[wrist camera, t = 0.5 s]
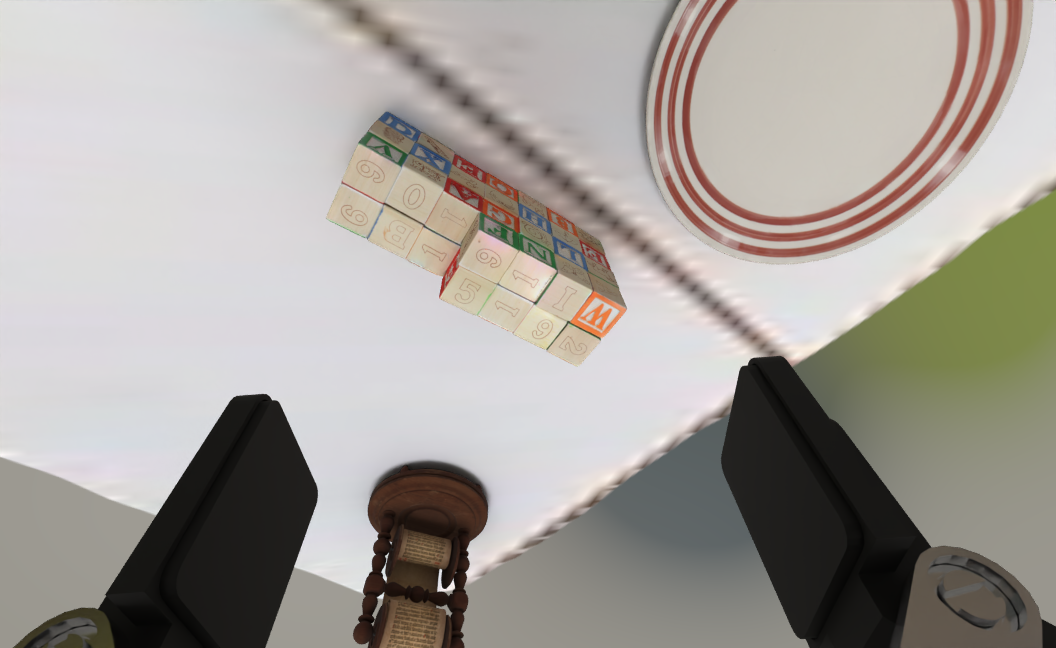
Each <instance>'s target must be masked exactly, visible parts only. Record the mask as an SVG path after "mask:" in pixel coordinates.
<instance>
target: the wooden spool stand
mask: <svg viewBox="0 0 1056 648" xmlns="http://www.w3.org/2000/svg"><path fill="white" fill-rule="evenodd" d="M368 517H369V520H370V523H371V524H372V526H373V528H374V529H375V530H376V531H377V532H378V533H379V534H378V540H377V541H376V542H375V543H374V546H373V551H374V553H375V554H376V555H375V556H374V557H373V559H372V570H373V571H372V572H370V573H369V576H368V577H367V579H366V581H365V585H364V589H363V593H364V595H365V596H366V597H365V598H364V599H363V603H362V608H363V615H361V616H360V617H359V618H358V620H359V622H360V623H359V624H358V625H357V626H356V627H355V629H354V633H353V637H354V640H355V641H356V642H357V643H358V644H366V643H367V642H369V644H368V648H464V643H463V641H462V640H461V638H463V636H464V635H463V633H462V632H460V631H461V628H462V625H463V622H464V615H463V613H464V612H465V611H466V609H467V605H468V596H467V595H466V591H465V590H464V589H463V588H464V586H465V583H466V580H467V575H466V573H465V572H466V571H467V570H468V568H469V565H470V563H469V560H468V558H467V556H468V554H469V553H468V551H466V550H467V548H468V545H469V543H470V541H471V540H473V539H474V538H476V537H477V536H478V535H479V534H480V533H481V532H482V530H483V529H484V527H485V525H486V522H487V518H488V504H487V500H486V498H485V496H484V494H483V493H482V488H481V486H480V485H475V484H473V483H472V482H471V481H469V480H467V479H466V478H464V477H462V476H459V475H457V474H454V473H451V472H447V471H442V470H435V469H416V470H409V469H408V466H404V467H403V468H402V469H401V471H400V473H398V474H395V475H393V476H390V477H389V478H387V479H385V480H384V481H382V482H381V483H380V484H379V485H378V486H377V487H376V488H375V490H374V491H373V493H372V495H371V497H370V501H369V505H368ZM390 542H392V544H390ZM388 553H389V555H388V559H387V563H386V557H385V555H387V554H388ZM385 564H386V570H385V574H386V576H387V582H386V581H385V580H384V579H383V574H382V573H381V571H382V569H383V568H384V566H385ZM439 569H442V577H441V584H442V588H443V589H446V588H447V587H448V586H449V585H450V584H451V582H452V580H453V578H454V584H455V589H454V590H453V594H450V595H449V596H448V595H447V594H446V593H445V592H437V587H438V576H439ZM455 572H456V573H455ZM383 592H385V593H384V598H383V604H382V606H381V607H380V610H379V612H378V614H377V616H376V619H374V617H373V616H372V614H373V612H374V610H375V608H376V606H377V603H378V600H377V597H378V596H380V595H381V594H382V593H383ZM446 604H447V606H448V608H449V610H450V611H451V612H452V615H451V617H449V615H446V611H445V610H444V609H439V608H436V605H437V606H440V607H441V606H444V605H446ZM374 620H375V622H374ZM373 622H374V626H372V624H371V623H373Z"/></svg>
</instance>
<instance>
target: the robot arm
mask: <svg viewBox="0 0 1056 648" xmlns="http://www.w3.org/2000/svg"><path fill="white" fill-rule="evenodd" d="M721 464H722V469H723V472H724V475H725V478H726V480H727V482H728V484H729V486H730V489H731V491H732V494H733V496H734V498H735V500H736V503H737V505H738V507H739V509H740V512H741V514H742V516H743V518H744V521H745V523H746V525H747V527H748V530H749V532H750V534H751V537H752V539H753V541H754V543H755V546H756V548H757V550H758V552H759V555H760V557H761V559H762V562H763V564H764V566H765V568H766V571H767V573H768V575H769V577H770V580H771V582H772V584H773V587H774V589H775V591H776V593H777V596H778V598H779V600H780V602H781V605H782V607H783V609H784V612H785V614H786V616H787V618H788V620H789V623H790V625H791V627H792V629H793V631H794V633H795V634H796V636H797V637H798V638H800V639H806V641H807V643H808V645H809V647H810V648H1056V626H1054V625H1052V624H1050V623H1048V622H1046V621H1044V620H1042V619H1041V616H1040V612H1039V608H1038V606H1037V604H1036V603H1035V601H1034V599H1033V598H1032V596H1031V594H1030V593H1029V592H1028V590H1027V589H1026V588H1025V587H1024V586H1023V585H1022V584H1021V583H1020V582H1019V581H1018V580H1017V579H1016V578H1015V577H1014V576H1013V575H1012V574H1010V573H1009V572H1008V571H1006V570H1005V569H1004V568H1002V567H1001V566H1000V565H998V564H997V563H995V562H993V561H991V560H989V559H988V558H986V557H984V556H982V555H980V554H978V553H975V552H972V551H969V550H966V549H963V548H959V547H951V546H938V547H931V546H930V545H929V543H928V542H927V541H926V539H925V538H924V537H923V535H922V534H921V533H920V531H919V530H918V529H917V527H916V526H915V525H914V523H913V522H912V521H911V519H910V518H909V517H908V515H907V514H906V513H905V511H904V510H903V509H902V507H901V506H900V505H899V503H898V502H897V501H896V499H895V498H894V497H893V495H892V494H891V493H890V491H889V490H888V489H887V487H886V486H885V485H884V483H883V482H882V480H881V479H880V478H879V476H878V475H877V474H876V472H875V471H874V470H873V468H872V467H871V466H870V464H869V463H868V462H867V460H866V459H865V458H864V456H863V455H862V454H861V452H860V451H859V450H858V448H857V447H856V446H855V444H854V443H853V442H852V440H851V439H850V438H849V436H848V435H847V434H846V432H845V431H844V430H843V428H842V427H841V426H840V425H839V424H838V423H837V422H836V421H834V420H832V419H829V417H828V416H827V414H826V413H825V412H824V410H823V409H822V408H821V406H820V405H819V403H818V402H817V401H816V399H815V398H814V397H813V395H812V394H811V393H810V391H809V390H808V389H807V387H806V386H805V385H804V383H803V382H802V380H801V379H800V378H799V376H798V375H797V374H796V372H795V371H794V369H793V368H792V367H791V365H790V364H789V363H788V361H787V360H786V359H785V358H784V357H782V356H773V357H759V358H752V359H751V360H750V361H749V363H748V366H742V367H741V368H740V371H739V376H738V381H737V385H736V390H735V395H734V399H733V404H732V409H731V413H730V419H729V423H728V427H727V432H726V437H725V442H724V446H723V451H722V457H721ZM317 498H318V490H317V486H316V483H315V481H314V479H313V476H312V474H311V472H310V470H309V467H308V465H307V463H306V461H305V458H304V456H303V454H302V452H301V450H300V447H299V445H298V443H297V441H296V438H295V436H294V434H293V432H292V429H291V427H290V425H289V423H288V421H287V418H286V416H285V414H284V412H283V409H282V407H281V405H280V403H279V402H278V401H275V400H273V401H272V399H271V398H270V396H268V395H267V394H257V395H243V396H236V397H234V398H233V399H232V400H231V401H230V402H229V404H228V405H227V407H226V408H225V410H224V412H223V413H222V415H221V416H220V418H219V419H218V421H217V422H216V424H215V425H214V427H213V429H212V430H211V432H210V433H209V435H208V436H207V438H206V439H205V441H204V442H203V444H202V446H201V447H200V449H199V450H198V452H197V453H196V455H195V456H194V458H193V460H192V461H191V463H190V464H189V466H188V467H187V469H186V470H185V472H184V473H183V475H182V477H181V478H180V480H179V481H178V483H177V484H176V486H175V487H174V489H173V491H172V492H171V494H170V495H169V497H168V498H167V500H166V501H165V503H164V504H163V506H162V508H161V509H160V511H159V512H158V514H157V515H156V517H155V518H154V520H153V521H152V523H151V525H150V526H149V528H148V529H147V531H146V533H145V534H144V536H143V537H142V539H141V540H140V542H139V543H138V545H137V546H136V548H135V549H134V551H133V552H132V554H131V556H130V557H129V559H128V560H127V562H126V563H125V565H124V566H123V568H122V570H121V571H120V573H119V574H118V576H117V577H116V579H115V580H114V582H113V583H112V585H111V587H110V588H109V590H108V591H107V593H106V594H105V595H106V597H105V599H104V601H103V602H102V604H101V605H100V607H99V608H98V609H96V608H78V609H74V610H71V611H67V612H64V613H62V614H60V615H58V616H56V617H54V618H52V619H49V620H47V621H46V622H44V623H43V624H41V625H40V626H39V627H37V628H36V629H34V630H33V631H31V632H30V633H28V634H27V635H26V636H25V637H24V638H23V639H22V640H21V641H20V642H19V643H18V644H17V645H15V646H14V647H13V648H265V647H266V644H267V641H268V638H269V636H270V632H271V630H272V627H273V624H274V621H275V619H276V616H277V613H278V610H279V608H280V604H281V602H282V599H283V596H284V593H285V591H286V588H287V585H288V582H289V579H290V577H291V574H292V571H293V568H294V565H295V563H296V560H297V557H298V554H299V551H300V549H301V546H302V543H303V540H304V537H305V535H306V532H307V529H308V526H309V523H310V521H311V518H312V515H313V512H314V509H315V507H316V503H317Z"/></svg>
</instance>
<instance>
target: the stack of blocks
mask: <svg viewBox="0 0 1056 648" xmlns="http://www.w3.org/2000/svg"><path fill="white" fill-rule="evenodd" d="M326 219H328V220H329V221H331V222H333V223H335V224H337V225H339V226H341V227H343V228H345V229H347V230H349V231H351V232H353V233H355V234H357V235H360V236H361V237H364V238H367V240H368V241H370V242H372V243H374V244H376V245H378V246H380V247H382V248H384V249H386V250H388V251H390V252H392V253H394V254H396V255H398V256H400V257H402V258H405V259H407V260H408V261H409V262H411V263H413V264H415V265H417V266H419V267H421V268H423V269H426V270H428V271H430V272H432V273H434V274H436V275H439V276H443V279H442V285H441V290H440V295H439V298H440V299H441V300H443V301H445V302H448V303H450V304H452V305H454V306H456V307H458V308H460V309H462V310H464V311H466V312H468V313H471V314H473V315H475V316H479V317H481V318H483V319H485V320H486V321H489V322H491V323H493V324H495V325H498V326H499V327H501V328H503V329H505V330H507V331H510V332H512V333H513V334H514V335H516V336H518V337H520V338H522V339H524V340H526V341H528V342H530V343H532V344H534V345H536V346H538V347H540V348H542V349H546V350H547V351H548V352H549V353H551V354H553V355H555V356H557V357H559V358H561V359H563V360H565V361H567V362H569V363H571V364H573V365H575V366H580V364H581V363H582V362H583V361H584V360H585V359H586V357H587V356H588V355H589V354H590V353H591V352H592V351H593V349H594V348H595V347H596V346H597V345H598V344H599V343H600V341H601V339H600V338H603V337H604V336H605V335H606V334H607V333H608V332H609V331H610V329H611V328H612V327H613V326H614V325H615V324H616V322H617V321H618V320H619V319H620V318H621V316H622V315H623V314H624V313H625V311H626V310H627V307H626V305H625V303H624V300H623V298H622V295H621V293H620V291H619V287H618V285H617V282H616V279H615V276H614V274H613V272H612V271H611V269H610V266H609V264H608V261H607V259H606V257H605V252H604V249H603V247H602V245H601V243H600V241H599V240H597V239H596V238H594V237H592V236H591V235H589V234H587V233H586V232H584V231H583V230H581V229H579V228H578V227H576V226H575V225H574V224H573V223H571V222H570V221H568V220H566V219H565V218H563V217H562V216H560V215H558V214H557V213H555V212H553V211H552V210H550V209H549V208H546V207H545V206H544V205H542V204H541V203H539V202H538V201H536V200H534V199H533V198H531V197H529V196H528V195H526V194H524V193H523V192H521V191H519V190H515V189H513V188H512V187H510V186H508V185H507V184H505V183H503V182H502V181H500V180H499V179H497V178H495V177H494V176H492V175H490V174H489V173H485V172H484V171H482V170H481V169H479V168H478V167H476V166H474V165H473V164H471V163H469V162H468V161H466V160H464V159H463V158H461V157H459V156H458V155H455V153H454V151H452V150H450V149H449V148H447V147H445V146H444V145H442V144H441V143H439V142H437V141H436V140H434V139H432V138H431V137H429V136H428V135H426V134H424V133H422V132H420V131H418V130H417V129H415V128H414V127H412V126H410V125H409V124H407V123H405V122H404V121H402V120H400V119H399V118H397V117H395V116H394V115H392V114H390V113H389V112H385V113H384V114H383V115H382V116H381V117H380V118H379V119H378V120H377V121H376V122H375V123H374V124H373V125H372V126H371V127H370V129H369V130H368V132H367V133H366V134H365V135H364V137H363V138H362V139H361V140H360V141H359V143H358V145H357V147H356V149H355V152H354V154H353V156H352V158H351V161H350V163H349V165H348V168H347V170H346V172H345V174H344V176H343V179H342V183H341V185H340V187H339V189H338V191H337V194H336V196H335V198H334V200H333V203H332V205H331V207H330V210H329V212H328V214H327V216H326Z"/></svg>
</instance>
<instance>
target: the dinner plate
mask: <svg viewBox="0 0 1056 648" xmlns="http://www.w3.org/2000/svg"><path fill="white" fill-rule="evenodd" d="M1032 16H1033V0H680V2H679V4H678V6H677V7H676V9H675V11H674V13H673V15H672V17H671V19H670V21H669V23H668V25H667V28H666V30H665V32H664V35H663V37H662V40H661V42H660V45H659V48H658V51H657V54H656V57H655V61H654V64H653V68H652V72H651V77H650V82H649V87H648V95H647V105H646V138H647V147H648V154H649V158H650V163H651V167H652V171H653V174H654V177H655V180H656V183H657V185H658V187H659V190H660V192H661V194H662V196H663V198H664V200H665V202H666V203H667V205H668V206H669V208H670V210H671V211H672V212H673V214H674V215H675V216H676V218H677V219H678V220H679V221H680V222H681V223H682V225H683V226H684V227H685V228H686V229H687V230H688V231H689V232H691V233H692V234H693V235H694V236H695V237H697V238H698V239H699V240H701V241H702V242H704V243H705V244H707V245H708V246H710V247H712V248H714V249H716V250H718V251H720V252H722V253H724V254H727V255H730V256H732V257H735V258H738V259H742V260H746V261H751V262H756V263H765V264H798V263H806V262H812V261H818V260H822V259H827V258H831V257H834V256H838V255H840V254H843V253H846V252H849V251H852V250H854V249H857V248H859V247H861V246H864V245H866V244H868V243H870V242H872V241H874V240H876V239H878V238H880V237H882V236H883V235H885V234H887V233H889V232H890V231H892V230H893V229H895V228H897V227H898V226H900V225H901V224H903V223H904V222H906V221H907V220H908V219H910V218H911V217H912V216H914V215H915V214H916V213H918V212H919V211H920V210H921V209H923V208H924V207H925V206H926V205H928V204H929V203H930V202H931V201H932V200H934V199H935V198H936V197H937V196H938V195H939V194H940V193H941V192H942V191H943V190H944V189H945V188H946V187H948V186H949V185H950V184H951V182H952V181H953V180H954V179H955V178H956V177H957V176H958V175H959V174H960V173H961V172H962V170H963V169H964V168H965V167H966V166H967V165H968V163H969V162H970V161H971V160H972V158H973V157H974V156H975V154H976V153H977V152H978V150H979V149H980V147H981V146H982V145H983V143H984V142H985V140H986V139H987V137H988V136H989V134H990V133H991V131H992V130H993V128H994V126H995V125H996V123H997V121H998V120H999V118H1000V116H1001V114H1002V112H1003V110H1004V108H1005V106H1006V104H1007V102H1008V100H1009V98H1010V96H1011V94H1012V92H1013V89H1014V87H1015V84H1016V82H1017V79H1018V76H1019V74H1020V71H1021V68H1022V65H1023V62H1024V58H1025V54H1026V51H1027V47H1028V43H1029V38H1030V32H1031V25H1032Z"/></svg>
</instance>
